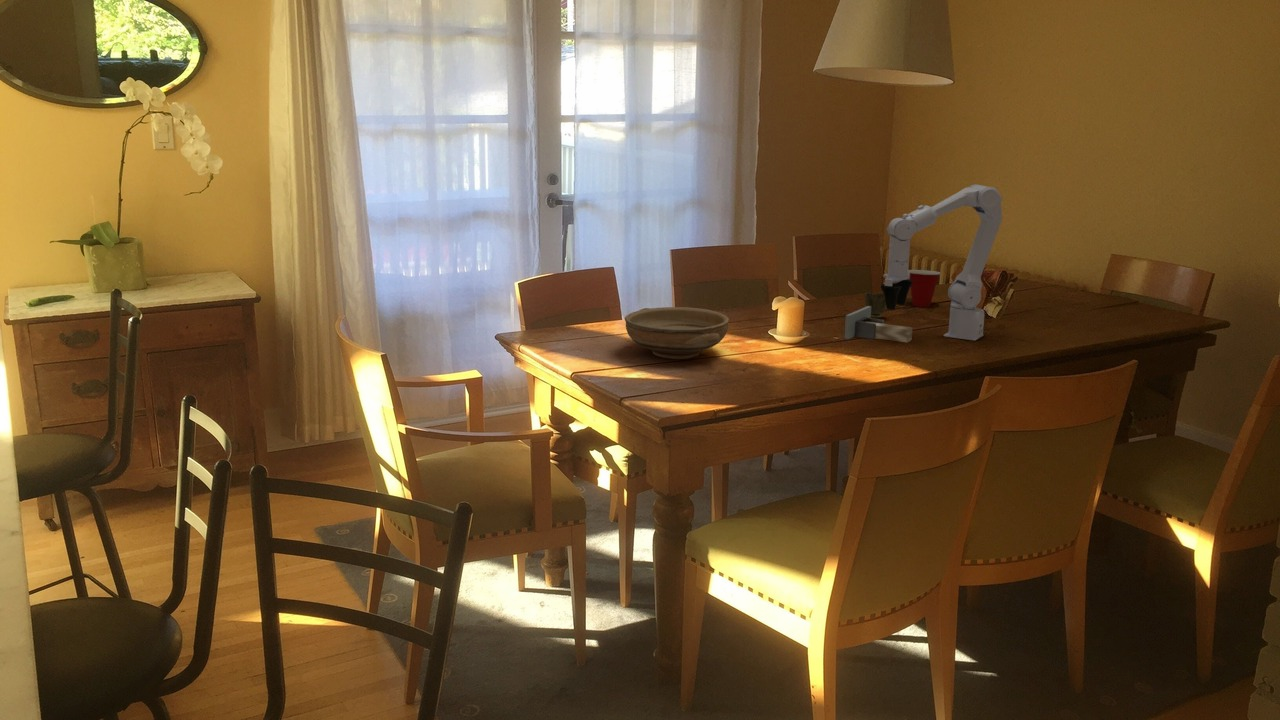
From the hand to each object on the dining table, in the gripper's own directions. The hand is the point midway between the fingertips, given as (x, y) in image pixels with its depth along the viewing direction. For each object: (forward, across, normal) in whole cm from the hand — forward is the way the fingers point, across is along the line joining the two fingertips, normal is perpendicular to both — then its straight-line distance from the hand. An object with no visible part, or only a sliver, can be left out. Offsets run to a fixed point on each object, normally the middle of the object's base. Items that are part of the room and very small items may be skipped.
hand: (895, 306), depth 294 cm
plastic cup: (+10, -50, -9) cm, 52 cm away
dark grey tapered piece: (+10, -22, -15) cm, 28 cm away
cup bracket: (+9, +1, -7) cm, 12 cm away
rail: (+10, +1, -2) cm, 10 cm away
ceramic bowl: (+9, +51, -43) cm, 67 cm away
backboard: (+9, +1, -11) cm, 14 cm away
